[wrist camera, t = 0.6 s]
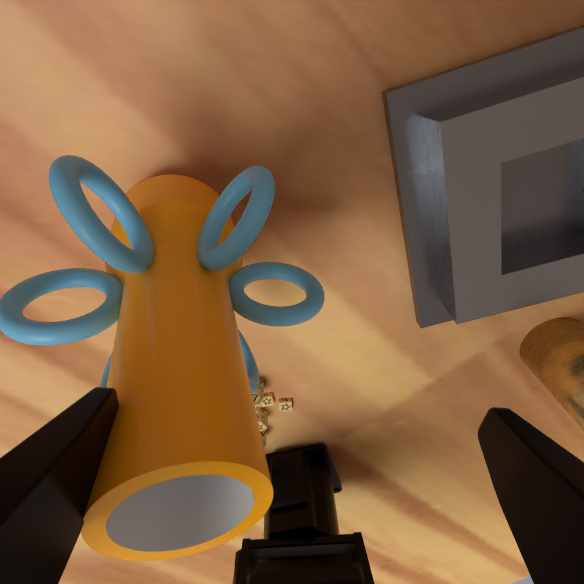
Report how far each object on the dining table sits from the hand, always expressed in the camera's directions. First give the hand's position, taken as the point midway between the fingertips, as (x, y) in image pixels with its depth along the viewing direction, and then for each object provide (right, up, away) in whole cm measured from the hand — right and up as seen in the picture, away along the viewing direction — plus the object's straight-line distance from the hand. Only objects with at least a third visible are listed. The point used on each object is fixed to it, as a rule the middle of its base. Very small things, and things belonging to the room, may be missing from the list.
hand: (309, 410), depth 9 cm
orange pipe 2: (-7, +7, +11) cm, 15 cm away
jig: (+13, +9, +11) cm, 19 cm away
